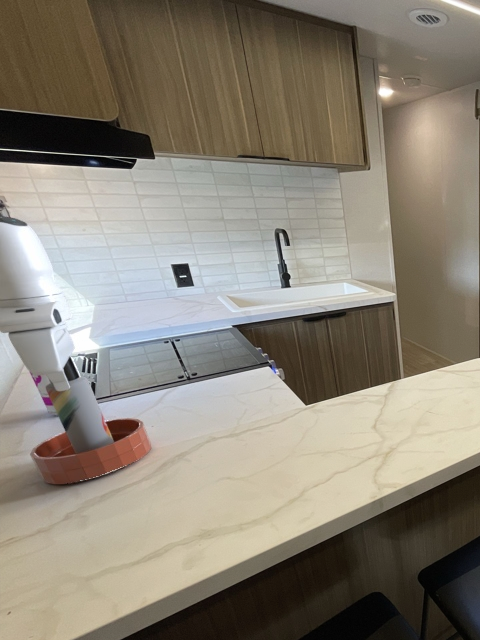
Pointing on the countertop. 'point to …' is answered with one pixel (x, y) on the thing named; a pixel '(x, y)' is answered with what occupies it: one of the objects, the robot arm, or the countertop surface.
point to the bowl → (91, 453)
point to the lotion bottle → (80, 412)
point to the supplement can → (41, 384)
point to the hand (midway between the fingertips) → (66, 384)
